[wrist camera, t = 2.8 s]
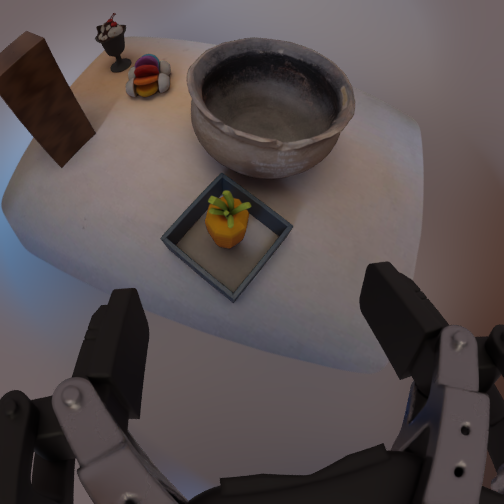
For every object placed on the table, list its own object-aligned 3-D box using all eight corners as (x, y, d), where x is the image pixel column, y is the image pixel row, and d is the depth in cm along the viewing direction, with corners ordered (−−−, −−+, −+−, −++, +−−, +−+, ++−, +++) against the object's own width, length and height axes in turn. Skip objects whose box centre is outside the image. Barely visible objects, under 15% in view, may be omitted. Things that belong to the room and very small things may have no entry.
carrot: (251, 237, 42) (263, 193, 28) (232, 266, 41) (234, 234, 27) (222, 219, 43) (220, 167, 28) (202, 247, 41) (190, 206, 27)
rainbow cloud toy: (127, 105, 47) (117, 79, 40) (133, 74, 49) (125, 49, 42) (170, 97, 48) (164, 70, 41) (172, 67, 50) (168, 41, 43)
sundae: (138, 66, 50) (125, 13, 35) (110, 79, 48) (91, 27, 34) (131, 53, 51) (118, 3, 36) (104, 65, 50) (87, 17, 35)
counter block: (61, 168, 43) (-8, 84, 20) (42, 147, 44) (-19, 70, 20) (95, 133, 45) (44, 37, 22) (74, 115, 46) (26, 30, 22)
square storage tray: (233, 303, 40) (234, 300, 35) (167, 248, 41) (160, 238, 36) (286, 237, 43) (293, 225, 38) (222, 188, 44) (221, 172, 39)
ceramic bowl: (183, 192, 43) (165, 133, 29) (205, 91, 49) (202, 29, 34) (327, 208, 44) (366, 158, 30) (322, 106, 50) (346, 49, 35)
